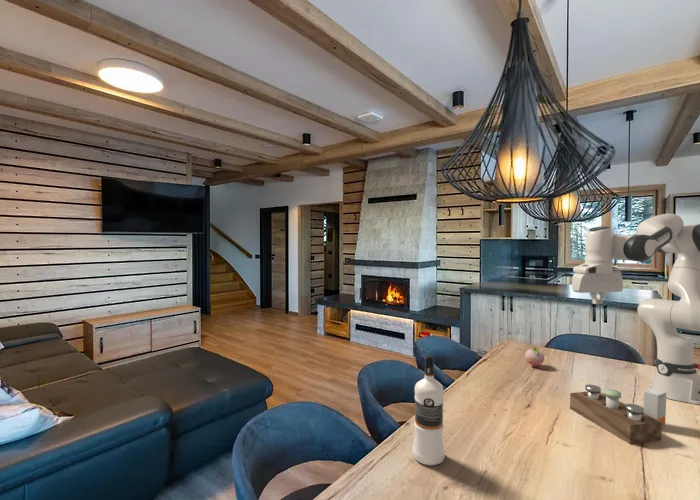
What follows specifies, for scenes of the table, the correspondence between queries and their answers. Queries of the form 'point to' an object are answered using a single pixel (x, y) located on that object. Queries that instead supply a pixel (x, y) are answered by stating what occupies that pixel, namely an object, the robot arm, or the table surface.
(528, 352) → the decorative fruit
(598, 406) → the block
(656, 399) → the skincare box
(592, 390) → the plug
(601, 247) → the robot arm
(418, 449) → the vodka
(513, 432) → the table surface
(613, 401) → the plug mid
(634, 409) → the plug
